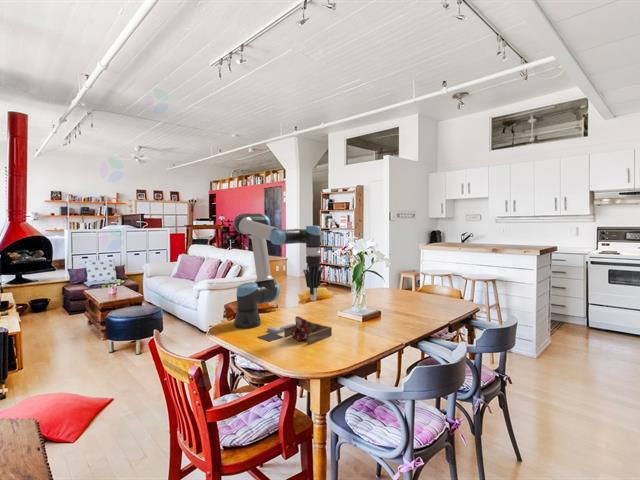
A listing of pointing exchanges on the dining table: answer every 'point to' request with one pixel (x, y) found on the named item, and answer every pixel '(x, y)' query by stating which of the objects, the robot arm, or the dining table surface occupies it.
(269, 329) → the slate-blue stick
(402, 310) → the dining table surface
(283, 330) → the grey metal crook tool
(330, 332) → the walnut cubby
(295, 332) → the toy fire truck
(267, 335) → the black hole patch
